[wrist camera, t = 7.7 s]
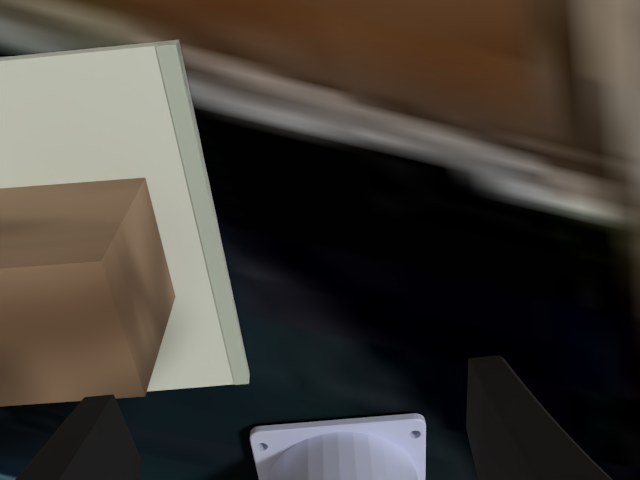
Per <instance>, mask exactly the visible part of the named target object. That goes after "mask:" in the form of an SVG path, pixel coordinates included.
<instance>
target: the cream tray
mask: <svg viewBox="0 0 640 480" xmlns="http://www.w3.org/2000/svg"><path fill="white" fill-rule="evenodd" d="M133 178H146V182H147V186H148V190H149V194H150V198H151V202H152V206H153V210H154V214H155V218H156V222H157V226H158V229H159V233H160V237H161V241H162V245H163V249H164V253H165V257H166V261H167V265H168V269H169V273H170V277H171V281H172V285H173V289H174V292H175V296H176V297H175V300H174V303H173V307H172V310H171V313H170V316H169V320H168V323H167V326H166V330H165V333H164V336H163V339H162V343H161V346H160V349H159V353H158V356H157V359H156V363H155V366H154V369H153V372H152V376H151V379H150V382H149V386H148V389H147V391H159V390H171V389H182V388H194V387H206V386H218V385H230V384H235V385H238V384H249V377H250V373H249V368H248V364H247V359H246V354H245V349H244V345H243V340H242V335H241V330H240V326H239V321H238V316H237V312H236V307H235V302H234V297H233V293H232V288H231V283H230V279H229V274H228V269H227V264H226V260H225V255H224V250H223V245H222V241H221V236H220V231H219V227H218V222H217V217H216V212H215V208H214V203H213V198H212V194H211V189H210V184H209V179H208V175H207V170H206V165H205V160H204V156H203V151H202V146H201V142H200V137H199V132H198V127H197V123H196V118H195V113H194V109H193V104H192V99H191V94H190V90H189V85H188V80H187V75H186V71H185V66H184V61H183V57H182V52H181V47H180V42H179V40H172V41H162V42H152V43H142V44H132V45H121V46H111V47H101V48H91V49H81V50H71V51H61V52H51V53H41V54H30V55H20V56H10V57H0V188H13V187H27V186H40V185H53V184H66V183H80V182H93V181H106V180H119V179H133Z"/></svg>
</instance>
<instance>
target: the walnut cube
mask: <svg viewBox="0 0 640 480" xmlns="http://www.w3.org/2000/svg"><path fill="white" fill-rule="evenodd" d="M175 297H176V296H175V292H174V289H173V285H172V281H171V277H170V273H169V269H168V265H167V261H166V257H165V253H164V249H163V245H162V241H161V237H160V233H159V229H158V226H157V222H156V218H155V214H154V210H153V206H152V202H151V198H150V194H149V190H148V186H147V182H146V178H133V179H119V180H106V181H93V182H80V183H66V184H53V185H40V186H27V187H13V188H0V406H14V405H28V404H43V403H57V402H71V401H82V400H83V398H84V397H92V396H102V395H112V394H114V396H115V398H128V397H143V396H145V395H146V392H147V389H148V386H149V382H150V379H151V376H152V372H153V369H154V366H155V363H156V359H157V356H158V353H159V349H160V346H161V343H162V339H163V336H164V333H165V330H166V326H167V323H168V320H169V316H170V313H171V310H172V307H173V303H174V300H175Z"/></svg>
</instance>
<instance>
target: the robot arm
mask: <svg viewBox="0 0 640 480" xmlns="http://www.w3.org/2000/svg"><path fill="white" fill-rule="evenodd" d="M466 429H467V433H468V437H469V442H470V446H471V450H472V455H473V459H474V463H475V467H476V471H477V475H478V479H479V480H612V479H611V478H610V477H609V476H608V475H607V474H606V473H605V472H604V471H603V470H602V469H601V468H600V467H599V466H598V465H597V464H596V463H595V462H594V461H593V460H592V459H591V458H590V457H589V456H588V455H587V454H586V453H585V452H584V451H583V450H582V449H581V448H580V447H579V446H578V445H577V444H576V443H575V441H574V440H573V439H572V438H571V437H570V436H569V435H568V434H567V433H566V432H565V431H564V430H563V429H562V427H561V426H560V425H559V424H558V423H557V422H556V421H555V420H554V419H553V418H552V416H551V415H550V414H549V413H548V412H547V411H546V410H545V409H544V407H543V406H542V405H541V404H540V403H539V401H538V400H537V399H536V398H535V397H534V396H533V394H532V393H531V392H530V391H529V390H528V388H527V387H526V386H525V385H524V384H523V382H522V381H521V380H520V379H519V377H518V376H517V375H516V374H515V372H514V371H513V370H512V368H511V367H510V366H509V364H508V363H507V362H506V361H505V359H503V358H502V357H501V356H500V355H498V356H489V357H479V358H469V360H468V391H467V422H466ZM250 443H251V447H252V452H253V456H254V460H255V465H256V469H257V473H258V478H259V480H425V468H426V423H425V419H424V417H423V416H422V415H420V414H416V413H412V414H400V415H388V416H375V417H363V418H351V419H339V420H327V421H314V422H302V423H290V424H278V425H266V426H257V427H255V428H253V429H252V430H251V431H250ZM262 443H264V444H262ZM140 465H141V457H140V455H139V452H138V450H137V448H136V445H135V443H134V441H133V438H132V436H131V434H130V431H129V429H128V427H127V424H126V422H125V420H124V417H123V415H122V413H121V410H120V408H119V406H118V403H117V401H116V399H115V396H114V394H112V395H102V396H92V397H84V398H83V400H82V401H81V402H80V403H79V404H78V405H77V407H76V408H75V409H74V410H73V411H72V413H71V414H70V415H69V416H68V417H67V419H66V420H65V421H64V422H63V423H62V425H61V426H60V427H59V428H58V429H57V431H56V432H55V433H54V434H53V435H52V437H51V438H50V439H49V440H48V442H47V443H46V444H45V445H44V446H43V448H42V449H41V450H40V451H39V452H38V454H37V455H36V456H35V457H34V458H33V460H32V461H31V462H30V463H29V464H28V465H27V467H26V468H25V469H24V470H23V471H22V472H21V474H20V475H19V476H18V477H17V478H16V480H138V479H139V472H140Z"/></svg>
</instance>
